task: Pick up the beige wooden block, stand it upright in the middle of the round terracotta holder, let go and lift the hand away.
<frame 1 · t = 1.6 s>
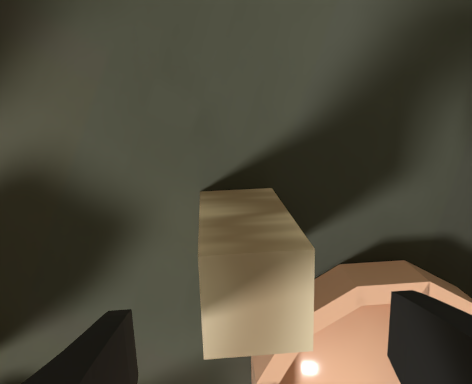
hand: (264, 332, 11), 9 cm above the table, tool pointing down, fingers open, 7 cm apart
saucer: (366, 369, 23), on the table
beige wooden block: (237, 223, 20), on the table
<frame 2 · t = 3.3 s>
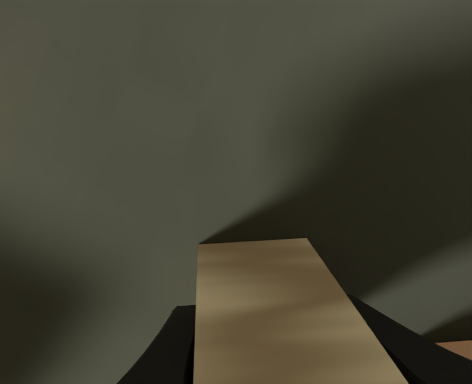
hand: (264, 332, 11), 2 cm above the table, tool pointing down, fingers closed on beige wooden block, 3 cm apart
beige wooden block: (253, 290, 14), on the table, touching gripper
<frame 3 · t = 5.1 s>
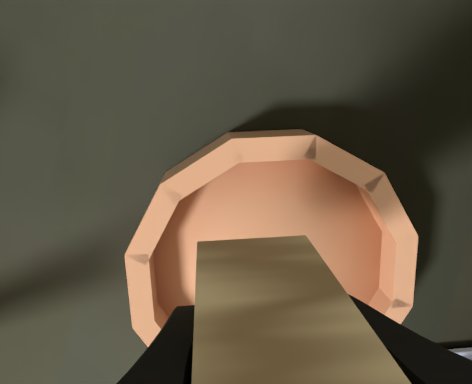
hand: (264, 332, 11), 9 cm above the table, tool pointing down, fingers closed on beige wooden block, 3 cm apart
saucer: (266, 259, 21), on the table
beige wooden block: (253, 288, 14), point 7 cm above the table, touching gripper
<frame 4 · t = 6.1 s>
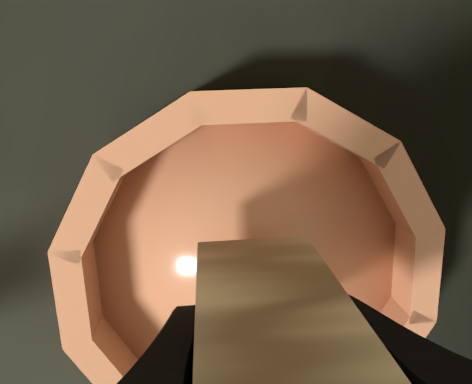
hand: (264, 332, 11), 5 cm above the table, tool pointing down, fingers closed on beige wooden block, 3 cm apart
saucer: (246, 259, 16), on the table
beige wooden block: (253, 288, 14), point 3 cm above the table, touching gripper
when the fingers open (4 cm above the table, at t = 7.0 s): beige wooden block stays where it is, resting on saucer.
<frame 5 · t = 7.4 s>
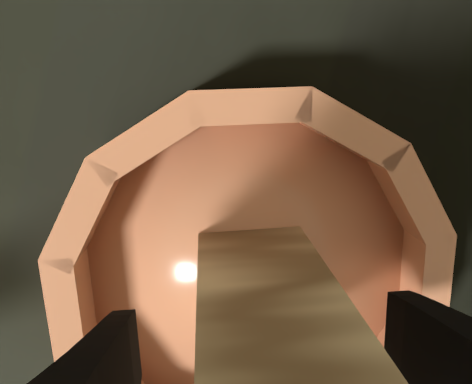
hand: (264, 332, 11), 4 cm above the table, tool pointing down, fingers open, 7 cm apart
saucer: (247, 266, 15), on the table
beige wooden block: (251, 276, 14), point 1 cm above the table, touching saucer
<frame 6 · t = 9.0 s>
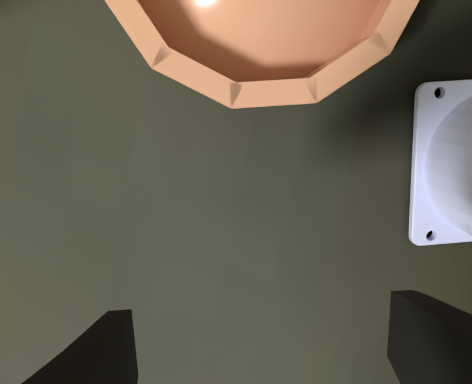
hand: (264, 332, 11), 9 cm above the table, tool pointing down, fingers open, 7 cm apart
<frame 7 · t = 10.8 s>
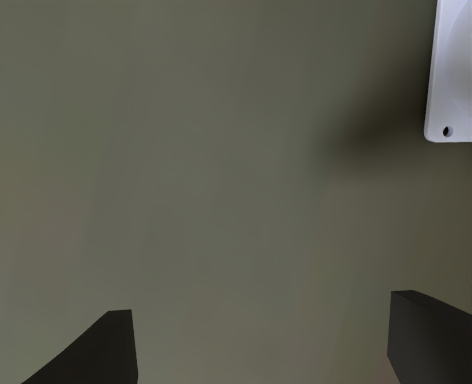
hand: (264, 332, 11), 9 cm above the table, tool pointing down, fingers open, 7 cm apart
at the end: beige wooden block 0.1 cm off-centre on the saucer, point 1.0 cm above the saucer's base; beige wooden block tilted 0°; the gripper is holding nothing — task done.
